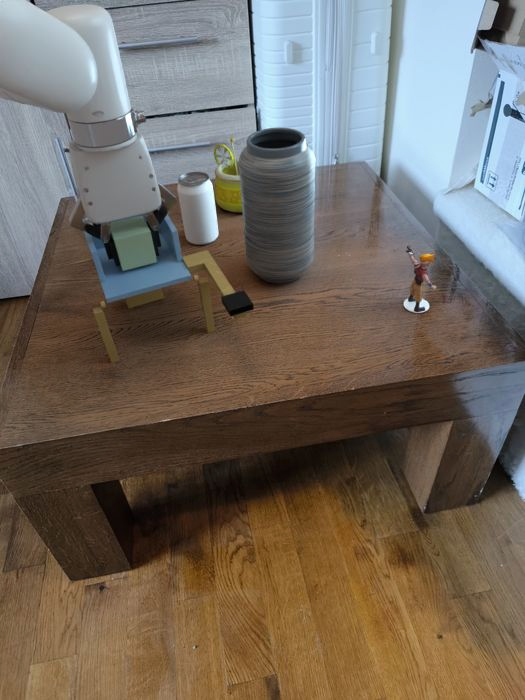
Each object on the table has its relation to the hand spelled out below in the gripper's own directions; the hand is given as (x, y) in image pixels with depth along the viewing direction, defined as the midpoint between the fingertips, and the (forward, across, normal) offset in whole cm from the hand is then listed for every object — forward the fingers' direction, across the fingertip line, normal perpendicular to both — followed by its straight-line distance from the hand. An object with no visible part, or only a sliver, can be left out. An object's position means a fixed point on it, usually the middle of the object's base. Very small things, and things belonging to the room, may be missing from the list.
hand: (135, 255), depth 74 cm
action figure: (+12, -39, +15) cm, 44 cm away
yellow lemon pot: (+12, -27, -30) cm, 42 cm away
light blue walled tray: (+2, -3, +6) cm, 7 cm away
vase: (+12, -24, -3) cm, 27 cm away
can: (+12, -15, -20) cm, 28 cm away
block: (0, 0, 0) cm, 0 cm away
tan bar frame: (+12, 0, 0) cm, 12 cm away
